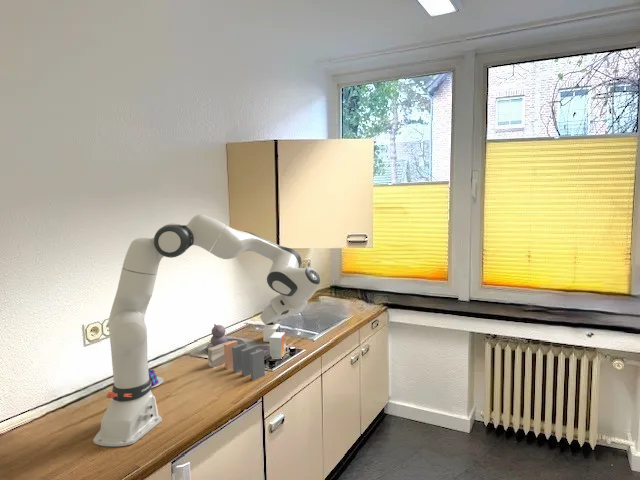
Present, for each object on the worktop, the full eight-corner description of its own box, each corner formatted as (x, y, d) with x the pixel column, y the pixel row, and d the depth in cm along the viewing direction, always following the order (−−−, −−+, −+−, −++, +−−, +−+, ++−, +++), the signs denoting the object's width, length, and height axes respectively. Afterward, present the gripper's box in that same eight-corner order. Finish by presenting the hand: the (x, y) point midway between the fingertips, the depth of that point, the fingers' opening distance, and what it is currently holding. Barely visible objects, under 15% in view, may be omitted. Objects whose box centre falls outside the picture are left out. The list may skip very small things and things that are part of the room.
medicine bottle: (276, 342, 225) (275, 319, 224) (263, 341, 226) (262, 319, 225) (280, 337, 232) (279, 315, 231) (267, 337, 233) (266, 314, 232)
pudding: (143, 376, 190) (142, 365, 189) (169, 378, 187) (168, 366, 187) (126, 389, 178) (124, 377, 178) (153, 391, 176) (151, 379, 175)
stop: (234, 359, 205) (233, 342, 204) (212, 367, 197) (211, 350, 195) (230, 357, 207) (229, 340, 206) (208, 365, 198) (207, 348, 197)
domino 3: (264, 375, 187) (263, 350, 186) (253, 380, 183) (252, 354, 181) (262, 374, 188) (260, 349, 187) (250, 379, 184) (249, 353, 182)
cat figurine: (229, 350, 216) (228, 326, 214) (213, 353, 213) (211, 329, 211) (225, 344, 224) (224, 321, 222) (209, 347, 220) (208, 324, 219)
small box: (281, 360, 202) (280, 338, 201) (269, 359, 203) (268, 337, 202) (286, 353, 210) (285, 332, 209) (275, 353, 211) (274, 331, 210)
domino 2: (255, 371, 191) (254, 347, 190) (244, 376, 187) (243, 351, 185) (253, 370, 192) (251, 346, 191) (242, 375, 188) (240, 350, 186)
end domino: (238, 364, 199) (237, 341, 197) (227, 369, 194) (226, 345, 193) (236, 363, 200) (234, 340, 198) (225, 368, 195) (223, 344, 194)
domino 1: (247, 368, 195) (245, 344, 193) (236, 372, 190) (234, 348, 189) (244, 367, 196) (243, 343, 195) (233, 371, 192) (232, 347, 190)
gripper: (306, 288, 175) (290, 308, 183) (267, 300, 160) (251, 321, 168) (315, 301, 173) (298, 321, 180) (276, 314, 157) (259, 335, 165)
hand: (275, 321), depth 174 cm, fingers closed
